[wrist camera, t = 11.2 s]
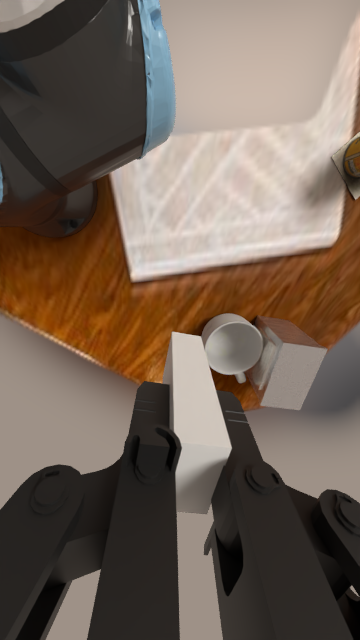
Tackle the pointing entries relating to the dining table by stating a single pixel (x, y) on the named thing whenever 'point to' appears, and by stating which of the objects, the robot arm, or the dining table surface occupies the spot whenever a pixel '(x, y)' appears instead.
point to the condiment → (350, 164)
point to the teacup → (231, 345)
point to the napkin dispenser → (284, 364)
